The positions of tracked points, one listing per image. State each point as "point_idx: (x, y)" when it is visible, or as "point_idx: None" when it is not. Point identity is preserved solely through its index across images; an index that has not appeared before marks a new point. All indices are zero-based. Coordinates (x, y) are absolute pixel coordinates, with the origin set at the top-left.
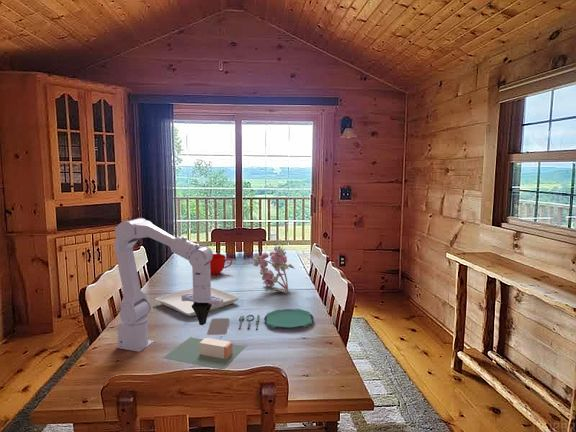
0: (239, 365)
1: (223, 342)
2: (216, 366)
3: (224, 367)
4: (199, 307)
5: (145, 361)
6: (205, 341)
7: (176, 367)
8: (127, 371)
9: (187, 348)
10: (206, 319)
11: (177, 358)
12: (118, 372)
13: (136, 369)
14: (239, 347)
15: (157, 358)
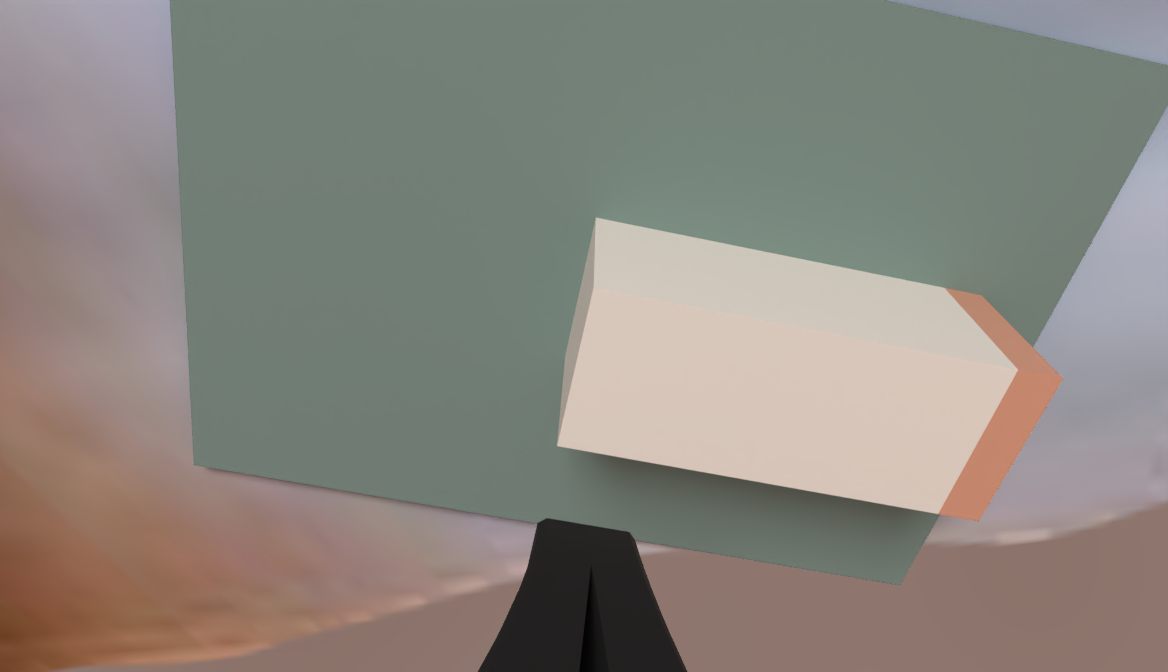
0: (1056, 485)
1: (919, 406)
2: (822, 550)
3: (906, 559)
4: None
5: (69, 509)
6: (634, 405)
7: (432, 567)
8: (59, 648)
9: (343, 238)
10: (649, 593)
11: (359, 461)
12: (2, 664)
13: (105, 620)
14: (1082, 114)
15: (139, 451)
